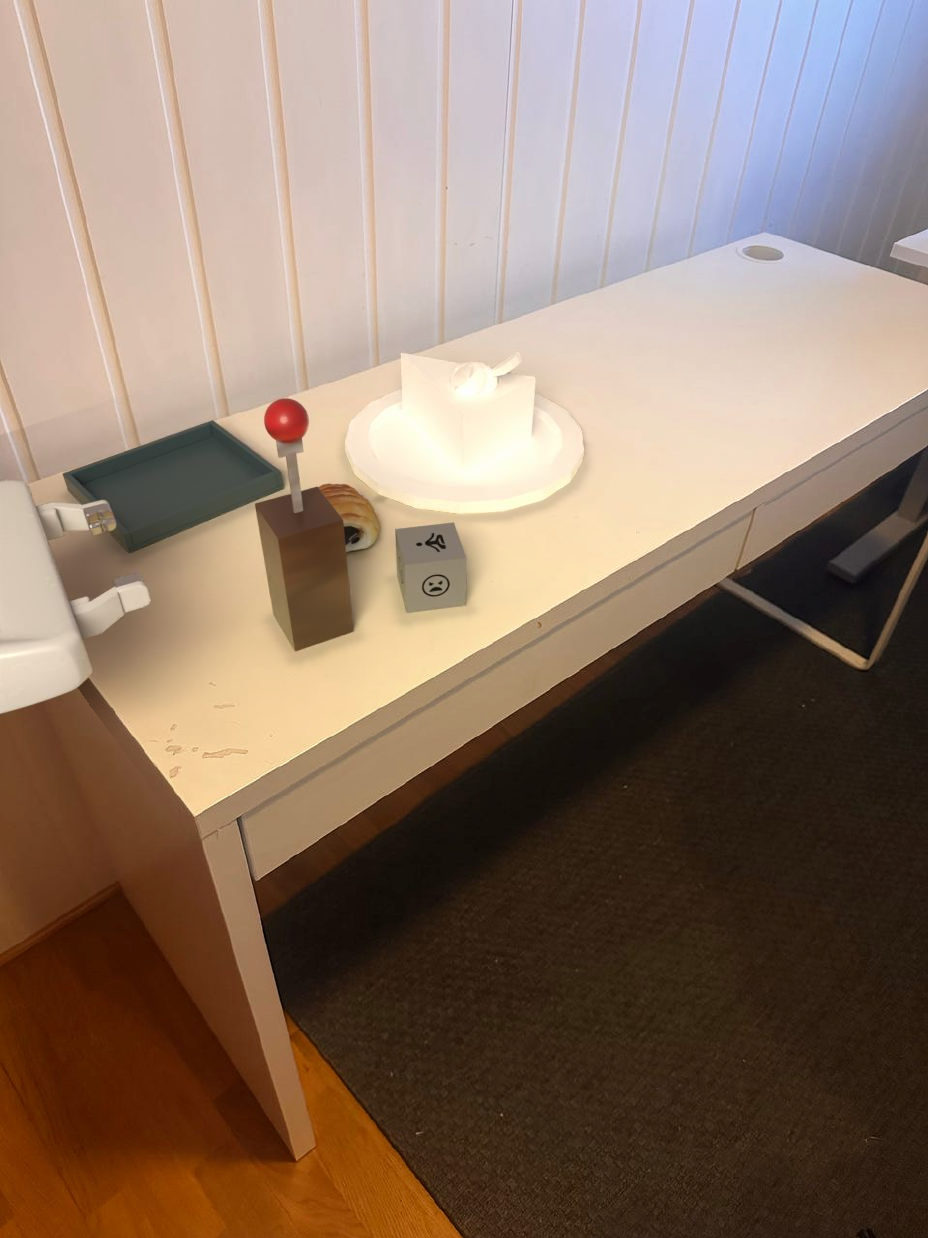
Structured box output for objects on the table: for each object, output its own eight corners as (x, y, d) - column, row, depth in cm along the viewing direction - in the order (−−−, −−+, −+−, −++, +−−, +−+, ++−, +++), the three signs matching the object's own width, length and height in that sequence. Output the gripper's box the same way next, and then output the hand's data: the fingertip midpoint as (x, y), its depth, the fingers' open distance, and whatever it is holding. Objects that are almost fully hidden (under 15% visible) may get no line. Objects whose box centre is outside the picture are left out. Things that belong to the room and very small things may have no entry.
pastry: (296, 504, 86) (292, 470, 83) (366, 495, 87) (364, 461, 85) (311, 562, 79) (307, 527, 76) (386, 551, 80) (384, 516, 78)
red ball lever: (295, 651, 70) (260, 425, 57) (273, 614, 74) (235, 393, 60) (353, 631, 72) (333, 408, 59) (329, 596, 75) (305, 377, 62)
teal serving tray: (129, 553, 80) (123, 535, 78) (67, 490, 87) (62, 473, 86) (284, 488, 88) (281, 471, 86) (215, 436, 95) (212, 419, 94)
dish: (629, 443, 95) (644, 342, 88) (472, 545, 81) (475, 435, 74) (458, 371, 107) (459, 277, 100) (296, 449, 93) (284, 346, 86)
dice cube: (465, 605, 75) (466, 557, 72) (406, 612, 74) (404, 565, 71) (453, 569, 78) (453, 522, 75) (397, 575, 78) (395, 528, 74)
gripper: (-91, 561, 64) (106, 510, 70) (-61, 755, 51) (179, 674, 56) (-128, 487, 60) (84, 438, 65) (-106, 677, 47) (158, 597, 52)
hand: (129, 548), depth 61 cm, fingers open, 8 cm apart
